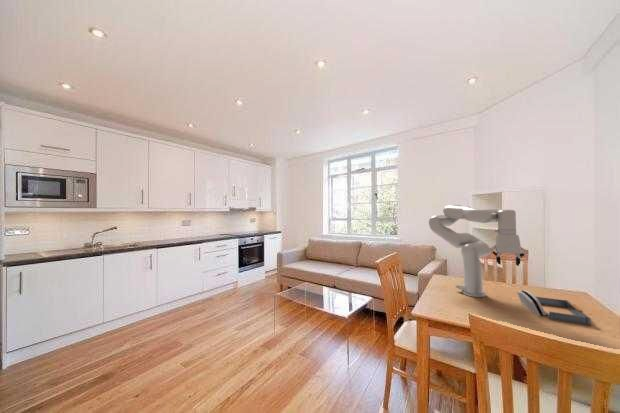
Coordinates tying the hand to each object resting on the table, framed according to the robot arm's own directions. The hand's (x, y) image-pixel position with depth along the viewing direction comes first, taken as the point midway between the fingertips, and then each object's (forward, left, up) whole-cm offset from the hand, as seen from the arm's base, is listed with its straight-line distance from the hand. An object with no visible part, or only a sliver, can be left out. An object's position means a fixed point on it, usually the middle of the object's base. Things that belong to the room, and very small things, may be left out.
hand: (508, 264), depth 127 cm
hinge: (+9, 0, -23) cm, 25 cm away
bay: (+20, 0, -23) cm, 30 cm away
